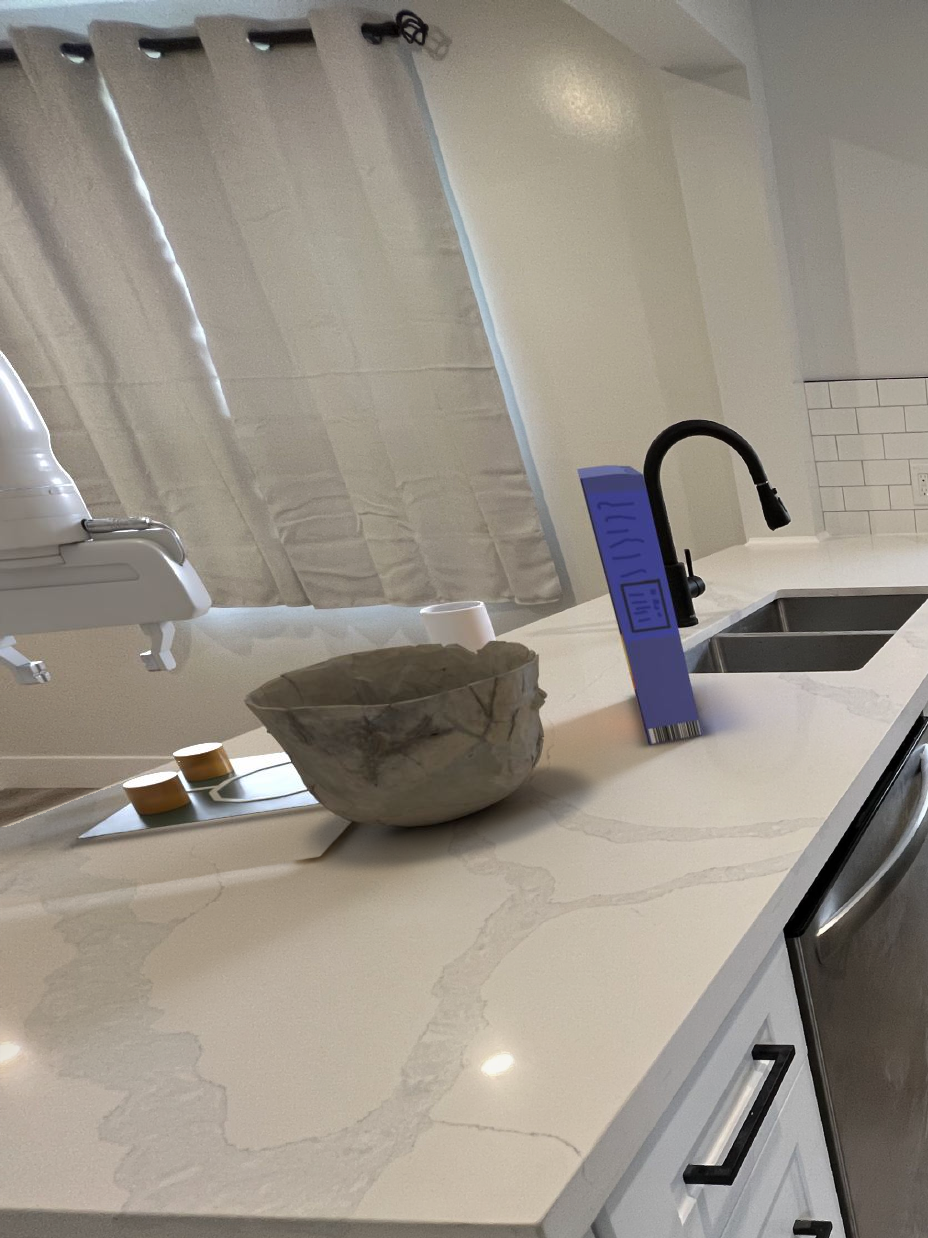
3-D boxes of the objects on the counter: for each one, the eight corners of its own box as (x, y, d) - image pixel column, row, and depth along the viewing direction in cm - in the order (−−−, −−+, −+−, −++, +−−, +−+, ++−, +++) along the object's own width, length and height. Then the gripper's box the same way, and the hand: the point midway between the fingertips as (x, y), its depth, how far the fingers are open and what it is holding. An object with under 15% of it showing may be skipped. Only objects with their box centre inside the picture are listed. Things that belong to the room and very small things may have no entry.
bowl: (608, 806, 85) (566, 660, 79) (338, 894, 71) (260, 724, 65) (533, 755, 99) (493, 627, 93) (295, 820, 85) (228, 674, 79)
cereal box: (636, 699, 118) (576, 466, 105) (682, 691, 120) (629, 463, 108) (649, 747, 100) (579, 475, 88) (703, 737, 103) (642, 472, 90)
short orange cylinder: (177, 784, 92) (164, 758, 91) (197, 770, 96) (184, 746, 94) (223, 778, 93) (210, 752, 92) (241, 765, 97) (229, 740, 96)
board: (80, 848, 81) (74, 837, 80) (193, 772, 98) (189, 763, 98) (332, 810, 87) (328, 801, 86) (397, 745, 104) (394, 737, 104)
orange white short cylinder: (127, 817, 85) (112, 790, 83) (150, 802, 88) (136, 775, 87) (177, 810, 86) (163, 783, 84) (199, 795, 89) (185, 769, 88)
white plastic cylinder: (531, 718, 112) (495, 603, 106) (476, 734, 107) (435, 614, 100) (504, 710, 115) (468, 598, 109) (450, 725, 110) (408, 609, 104)
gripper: (186, 511, 81) (251, 654, 86) (-104, 529, 75) (-14, 681, 80) (148, 518, 75) (219, 670, 81) (-169, 538, 69) (-67, 701, 75)
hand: (101, 676), depth 81 cm, fingers open, 8 cm apart
